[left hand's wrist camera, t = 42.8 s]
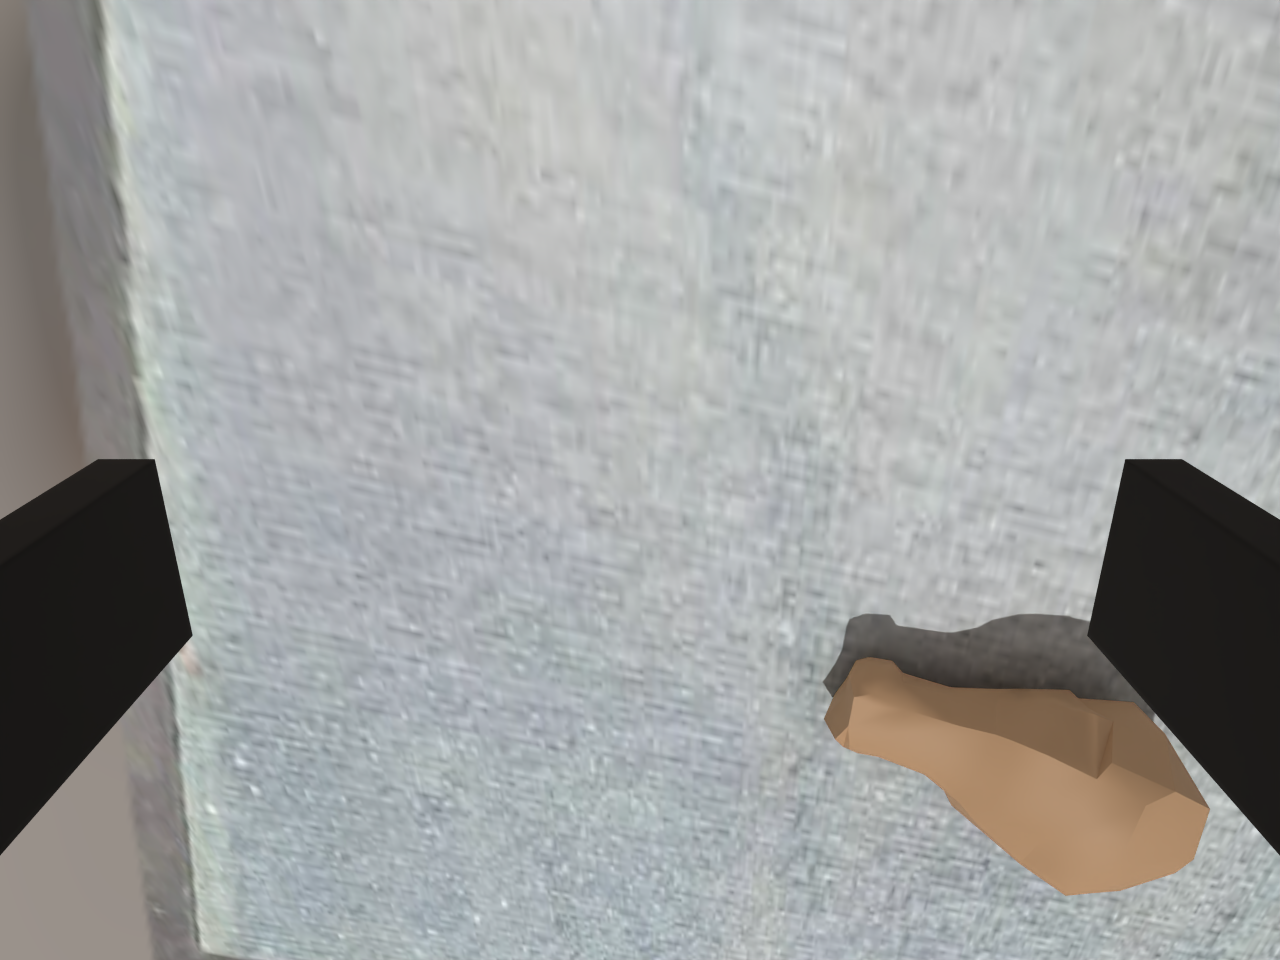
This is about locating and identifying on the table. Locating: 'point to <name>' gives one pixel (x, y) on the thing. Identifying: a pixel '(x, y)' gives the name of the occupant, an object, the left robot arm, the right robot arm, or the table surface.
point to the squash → (1035, 772)
